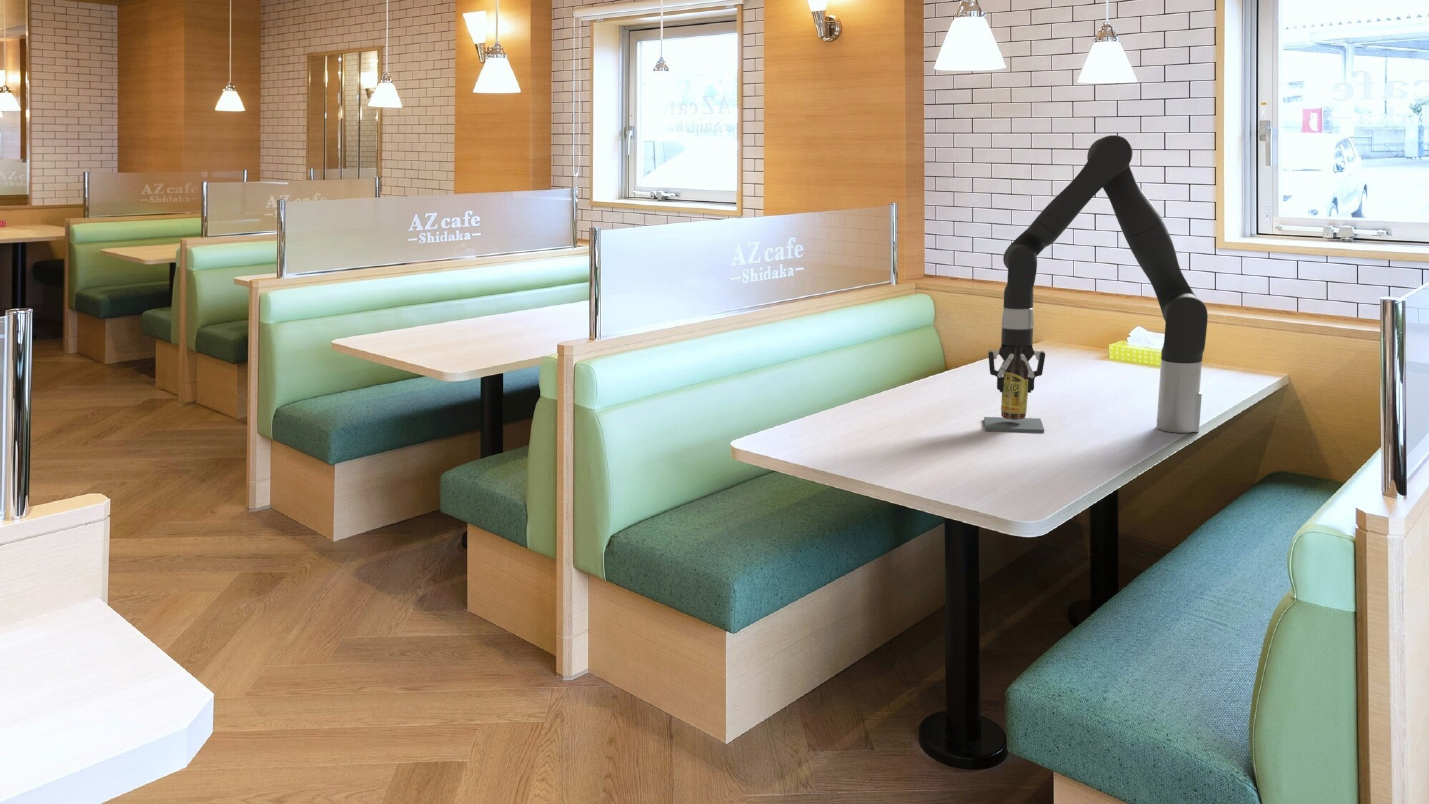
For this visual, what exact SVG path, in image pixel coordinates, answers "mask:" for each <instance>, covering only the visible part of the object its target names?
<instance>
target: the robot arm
mask: <svg viewBox="0 0 1429 804" xmlns="http://www.w3.org/2000/svg"><path fill="white" fill-rule="evenodd" d="M1132 158H1133V147H1132V145H1131V143H1130V141H1129V140H1128V139H1126V138H1125V137H1124V136H1121V135H1113V134H1112V135H1107V136H1106V135H1105V136H1104V137H1101V138H1099V139H1097V140H1095V141H1094V142H1092V144H1091V145H1090V147H1089V149H1088V152H1087V161H1086V163H1085V165H1084V166H1083V167H1082V168H1081V169H1080V171H1079V172H1078V173H1077V175H1076V176H1075V178H1073V180H1071V182H1070V183H1069V184H1068V185H1067V186H1066V187H1064V189H1063V190H1061V192H1059V193H1058V194H1057V195H1056V196H1055V197H1054V198H1053V199H1052V200H1051V201H1050V202H1049V203H1048V204H1047V206H1045V207H1044V209H1043V210H1042V211H1041V212H1040V213H1039V214H1038V215H1037V217H1036V218H1035V219H1034V220H1033V221H1032V222H1031V224H1030V225H1029V226H1028V228H1027V229H1025V230H1024V231H1023V232H1022V233H1021V234H1019V236H1017V238H1015V240H1013V241H1012V242H1011V243H1010V244H1009V245H1008V247H1007V248H1006V249H1005V251H1004V253H1003V258H1002V260H1003V264H1004V266H1005V267H1006V269H1007V284H1006V286H1005V287H1004V292H1003V309H1002V314H1001V316H1002V317H1001V334H1000V335H1001V338H1000V340H1001V341H1000V348H999V349H998V350H997V349H996V350H991V349H989V350H988V351H987V353H988V354H987V355H988V357H987V358H988V366H989V375H991V376H995V377H996V389H997V390H998V391H999V393H1002V392H1003V374H1004V372H1005V371H1006V369H1007V368H1008V366H1009V364H1010V362H1011V361H1012V359H1013V357H1014V354H1013V353H1012V352H1011V349H1012V347H1025V346H1026V347H1025V354H1021V355H1020V356H1021V360H1023V361H1024V362H1025V364H1026V365H1027V368H1028V371H1029V372H1028V374H1029V382H1028V394H1029V393H1032V391H1034V390H1035V379H1036V378H1037V377H1041V376H1042V375H1043V372H1044V366H1045V361H1046V360H1045V359H1046V352H1045V350H1040V351H1039V350H1034V348H1033V344H1034V342H1033V341H1034V340H1033V339H1034V324H1035V322H1034V319H1035V318H1034V287H1035V282H1036V276H1037V271H1038V270H1037V269H1038V255H1040V254H1041V252H1042V251H1043V250H1044V249H1046V247H1049V246H1051V245H1052V244H1054V242H1056V240H1058V238H1059V237H1060V236H1061V235H1062V234H1063V233H1064V232H1065V230H1066V229H1067V228H1068V227H1069V226H1070V224H1072V222H1073V221H1074V219H1075V218H1076V217H1077V216H1078V215H1079V214H1080V212H1081V211H1082V210H1083V209H1084V207H1085V206H1086V205H1087V204H1088V203H1089V202H1090V201H1091V199H1092V198H1093V197H1095V196H1096V194H1097V193H1099V192H1100V190H1102V189H1103V191H1104V192H1105V194H1106V196H1107V198H1108V200H1109V202H1110V205H1111V207H1112V210H1113V212H1114V215H1115V217H1116V221H1117V223H1118V224H1119V226H1120V230H1121V231H1122V234H1123V236H1124V238H1125V240H1126V243H1127V245H1128V246H1129V249H1130V251H1131V254H1133V256H1134V258H1135V260H1136V262H1137V263H1138V264H1139V266H1140V268H1141V270H1142V271H1143V273H1144V274H1145V275H1146V277H1147V279H1148V281H1149V282H1150V284H1151V287H1152V288H1153V290H1154V292H1155V294H1154V295H1155V296H1156V300H1157V301H1158V305H1159V308H1160V311H1161V314H1162V318H1163V320H1164V322H1165V323H1164V324H1165V328H1164V338H1163V340H1164V341H1163V346H1162V348H1161V356H1160V367H1159V369H1160V370H1159V371H1160V372H1159V384H1158V385H1159V386H1158V399H1157V412H1156V413H1157V414H1156V429H1158V430H1160V431H1163V432H1167V433H1168V432H1169V433H1179V434H1181V433H1182V434H1185V433H1186V434H1188V433H1193V432H1194V433H1197V432H1198V433H1199V432H1200V421H1201V420H1200V419H1201V409H1202V398H1203V397H1202V392H1200V391H1201V382H1202V381H1201V379H1202V378H1201V377H1202V365H1203V356H1204V355H1203V354H1204V351H1205V348H1206V338H1207V329H1208V315H1209V314H1208V310H1207V306H1206V304H1205V303H1204V302H1203V301H1202V300H1201V299H1199V297H1198V296H1197V295H1196V294H1195V293H1194V292H1195V291H1193V290H1192V288H1191V286H1190V284H1189V283H1188V282H1187V281H1188V280H1186V278H1185V277H1184V274H1183V272H1182V270H1181V267H1180V264H1179V261H1178V257H1177V252H1176V249H1175V246H1174V242H1173V240H1172V237H1171V235H1170V232H1169V230H1168V228H1167V227H1166V225H1165V222H1164V219H1163V217H1162V216H1161V214H1160V213H1159V211H1158V210H1157V208H1156V207H1155V206H1154V204H1153V203H1152V202H1151V200H1150V199H1149V198H1148V196H1147V195H1146V194H1145V193H1144V191H1143V190H1142V189H1141V188H1140V185H1139V184H1138V183H1137V180H1136V178H1135V176H1134V173H1133V171H1132V168H1131V165H1130V163H1131V161H1132ZM1011 346H1012V347H1011ZM998 355H999V356H1000V357H1001V359H1002V360H1003V361H1002V363H1001V365H1000V367H999V368H998V370H997V369H996V367H995V360H996V359H997V358H998ZM1033 356H1035V359H1036V360H1037V366H1036V367H1037V368H1036V370H1033V368H1032V367H1031V364H1030V362H1029V361H1030V360H1031V359H1032V358H1033Z"/></svg>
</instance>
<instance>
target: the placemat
mask: <svg viewBox="0 0 1429 804" xmlns="http://www.w3.org/2000/svg"><path fill="white" fill-rule="evenodd" d="M983 422H984V430H985V432H1003V433H1005V432H1006V433H1007V432H1008V433H1010V432H1011V433H1037V434H1038V433H1039V434H1040V433H1043V434H1044V433H1045V428H1044V425H1043V423H1042V422H1043V421H1042V418H1041V417H1040V418H1038V417H1035V418H1033V417H1025V418H1023V419H1017V420H1012V419H1006V418H1003V417H1002V416H1001V417H1000V416H999V417H995V416H984V417H983Z"/></svg>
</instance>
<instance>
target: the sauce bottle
mask: <svg viewBox="0 0 1429 804" xmlns="http://www.w3.org/2000/svg"><path fill="white" fill-rule="evenodd" d="M1011 347H1012V346H1011ZM1025 347H1026V346H1025ZM1025 347H1012V349H1011V352H1012V353H1013V354H1014V357H1013V359H1012V361H1011V362H1010V364H1009V366H1008V368H1007V369H1006V371H1005V372H1004V374H1003V376H1002V377H1003V392H1001V405H1000V406H1001V407H1000V410H1001V411H1000V412H1001V415H1000V416H1001V417H1003V418H1006V419H1012V420H1017V419H1023V418H1026V416H1027V414H1026V413H1027V412H1028V411H1027V410H1028V409H1027V408H1028V395H1029V393H1028V382H1029V374H1028V372H1029V371H1028V368H1027V365H1026V364H1025V362H1024V361H1023V360H1021V356H1020V355H1021V354H1025Z"/></svg>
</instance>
